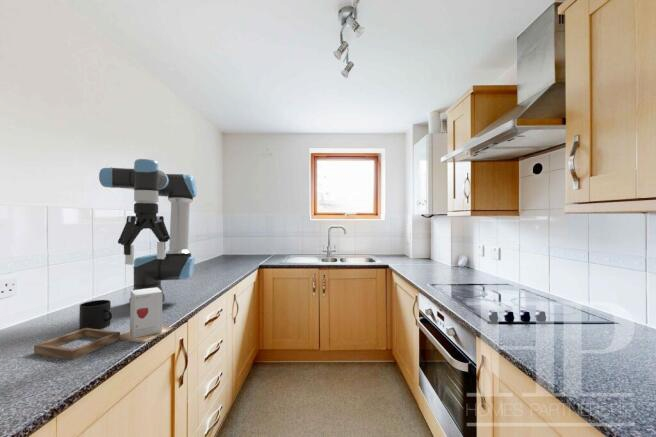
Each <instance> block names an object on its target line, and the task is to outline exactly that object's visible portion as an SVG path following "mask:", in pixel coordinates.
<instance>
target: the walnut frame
mask: <svg viewBox="0 0 656 437" xmlns="http://www.w3.org/2000/svg"><path fill="white" fill-rule="evenodd" d="M120 335H121V332H120V331H113V330H105V329H91V328H83V329H81V330H80V329H78V330H76V331H72V332H69V333H67V334H64V335H61V336H57V337H55V338H51V339H50V340H46V341H44V342H41V343H40V342H39V343H38V344H34V345H33V354H35V355H39V356H46V357H53V358H59V359H64V360H72V361H73V360H75V359H78V358H80V357H82V356H85V355H87V354H89V353H91V352H94V351H96V350H99V349H101V348H103V347H106V346H107V345H110V344H113V343H115V342H118V341H120V340H119V339H120ZM84 337H86V338H92V339H93V338H94V339H96V340H93V341H90V342H88V343H85V344H83V345H80V346H78V347H76V348H67V347H61V346H63V345H65V344H68V343H71V342H73V341H77V340H79V339H81V338H84Z"/></svg>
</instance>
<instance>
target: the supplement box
mask: <svg viewBox="0 0 656 437" xmlns="http://www.w3.org/2000/svg"><path fill="white" fill-rule="evenodd" d="M130 298H131V301H130V305H129V308H130V311H129V331H130V332H131V334H132V336H133V338H137V337H142V336H147V335H151V334H156V333H161V332H162V326H163V302H162V291H161V290H160V289H159V288H158V287H156V288H147V289H139V290H133V289H131V290H130Z"/></svg>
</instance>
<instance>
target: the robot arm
mask: <svg viewBox="0 0 656 437" xmlns="http://www.w3.org/2000/svg"><path fill="white" fill-rule="evenodd" d="M133 164H134V165H133V168H125V167H122V168H120V167H103V168H101V169H100V170H99V173H98V181H99V184H100V185H101V186H102V187H104V188H111V189H127V190H133V193H134V194H133V201H134V202H135V203H134V204H133V213H134V214H135V215H127V216H126V223H125V225H124V227H123V228H122V231H121V234H120V236H119V237H118V238H119V239H118V240H117V244H119V245H121V246H123V255H124V256H125V259H124V260H125V261H124V262H125V265H133V267H132V268H133V288H132V290H139V289H147V288H156V287H158V288H159V289H160V290H161V291H162V303H163V302H165V300H166V295H165V294H164V291H163V287H162V281H182V280H183V281H184V280H188V279H191V276H192V275H193V272H194V267H195V256H193V255H192V252H191V251H190V250H189V232H190V231H189V230H190V207H191V206H190V204H191V203H192V202H193V201H194V198H196V197H197V192H198V190H197V186H196V181H195V178H194V176H192V175H191V174H184V173H183V174H181V173H179V174H178V173H177V174H176V173H165V172H164V171H162V170H160V167H159V162H158V161H157V160H154V159H147V158H138V159H136V160H135V161H134V163H133ZM159 197H167V201H169V203H170V222H169V224H170V225H169V231H168V229H167V226H166V224H165V218H164V216H163V215H157V214H158V213H159V204H158V202H159ZM144 229H149V230H151V232H152V233H153V234H154V236H155V237H156V238H157V240H158V241H157V242H156V253H155V254H148V255H141V256H138V257H136V258H134V257H135V246H134V245H133V243H134V241H135V240H136V238H137V237H138V236H139V234H140V233H141V232H142V231H143V230H144ZM166 242H167V243H168V242H169V244H168V245H169V249H168V250H167V251H166ZM165 251H166V252H165ZM130 301H131V297H130V298H129V301H128V302H129V303H128V304H129V306H130Z"/></svg>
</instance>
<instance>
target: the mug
mask: <svg viewBox="0 0 656 437" xmlns="http://www.w3.org/2000/svg"><path fill="white" fill-rule="evenodd" d="M111 308H112V307H111V300H109V299H98V300H96V299H95V300H90V301H86V302H83V303H80V304H79V317H78V318H79V321H78V322H79V326H78V328H79V329H78V330H81V329H83V328H91V329H99V330H103V329H104V328H107V327H109V326H110V325H111V320H112V318H113V313H112V311H111Z"/></svg>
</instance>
